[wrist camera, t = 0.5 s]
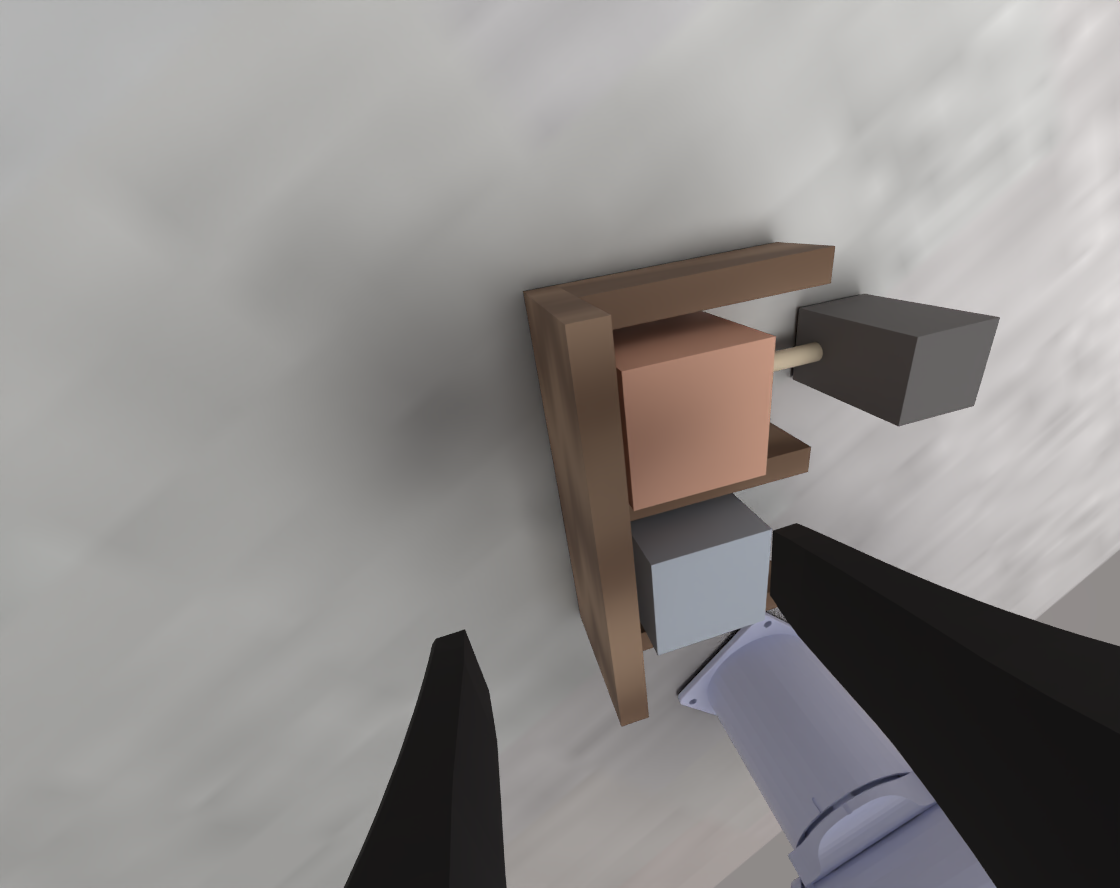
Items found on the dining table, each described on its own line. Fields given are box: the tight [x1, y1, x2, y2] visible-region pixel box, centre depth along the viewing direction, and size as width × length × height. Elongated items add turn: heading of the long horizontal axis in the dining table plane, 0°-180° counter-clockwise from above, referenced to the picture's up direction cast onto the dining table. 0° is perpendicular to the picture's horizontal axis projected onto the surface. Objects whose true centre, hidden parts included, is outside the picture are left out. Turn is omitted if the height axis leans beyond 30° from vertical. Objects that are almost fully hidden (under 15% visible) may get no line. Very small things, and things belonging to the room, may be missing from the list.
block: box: [630, 493, 772, 655], centre depth 21 cm, size 5×5×5 cm
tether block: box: [612, 294, 1000, 511], centre depth 17 cm, size 5×13×6 cm, turn 99°
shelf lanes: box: [523, 242, 835, 726], centre depth 19 cm, size 17×10×6 cm, turn 9°
